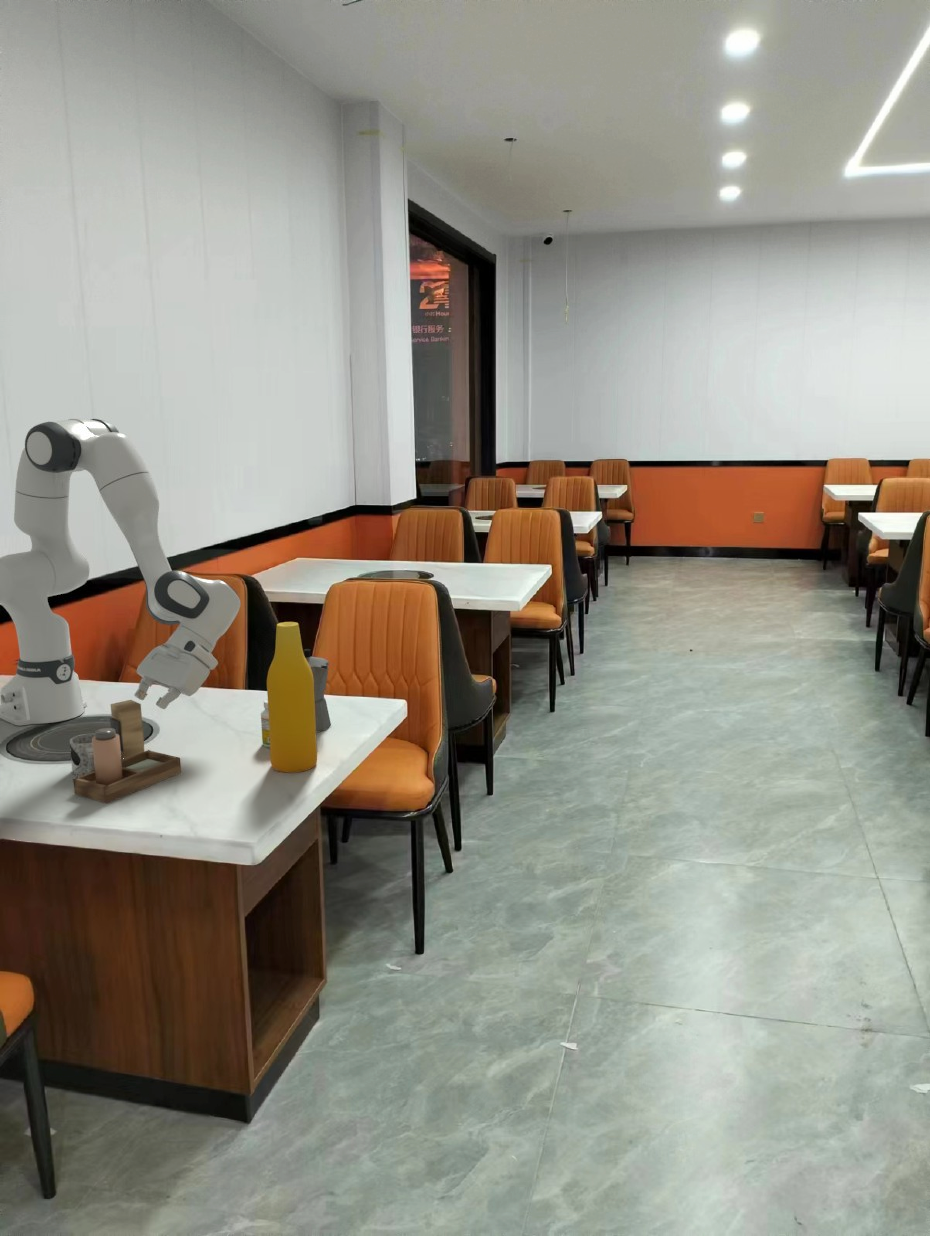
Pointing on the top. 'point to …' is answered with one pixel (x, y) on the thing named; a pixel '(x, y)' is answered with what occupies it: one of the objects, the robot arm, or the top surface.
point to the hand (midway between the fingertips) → (148, 702)
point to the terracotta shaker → (107, 756)
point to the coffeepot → (319, 689)
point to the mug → (82, 754)
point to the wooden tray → (129, 776)
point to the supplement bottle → (265, 725)
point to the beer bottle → (291, 704)
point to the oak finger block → (128, 727)
